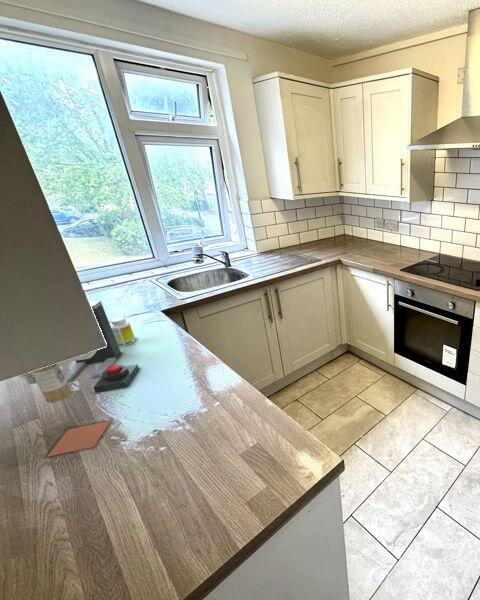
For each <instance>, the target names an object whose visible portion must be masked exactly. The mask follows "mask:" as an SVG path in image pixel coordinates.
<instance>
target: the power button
mask: <svg viewBox="0 0 480 600" xmlns="http://www.w3.org/2000/svg"><path fill="white" fill-rule="evenodd" d="M120 365H121V364H119V363H114V364H113V365H111V366H109V367H108V368H107V372H108V374H109V375H111V374H115V373H118V372H120V371H121V367H120Z"/></svg>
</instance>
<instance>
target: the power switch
mask: <svg viewBox="0 0 480 600" xmlns="http://www.w3.org/2000/svg"><path fill="white" fill-rule="evenodd" d="M119 365H120V367H121V371H120V372H118V373H115V374H111V375H109V374H108V372H107V370H105V371H104V372H103V373H102V376H101V377H99V380H98V381H96V383H95V384H94V386H93V390H94V392H95V393H101V392H107V391H113V390H118V389H124V388H128V387H129V385H130V384H131V383H132V381H133V379H134V378H135V376H136V374H137V373H138V371H139V370H140V367H139V364H138V363H135V364H130V365H129V364H128V365H124V364H119Z"/></svg>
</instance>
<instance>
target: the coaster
mask: <svg viewBox="0 0 480 600" xmlns="http://www.w3.org/2000/svg"><path fill="white" fill-rule="evenodd" d="M110 423H111V420H109V421H104V422H97V423H92V424H88V425H83V426H82V425H81V426H77V427H72V428H68V429H67V430H66V432H65V433H64V434H63V435H62V436H61V438H60V439H58V441H57V443H56V444H55V446H54V447H53V448H52V449H51V451H50V452H49V453H48V455H47V456H46V457H47V458H49V457H53V456H59V455H63V454H67V453H72V452H78V451H82V450H86V449H87V450H88V449H92V448H95V446H96V445H97V443H98V442H99V440H100V438H101V437H102V436H103V434H104V432H105V431H106V429H107V427H108V426H109V425H110Z"/></svg>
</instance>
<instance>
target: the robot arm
mask: <svg viewBox="0 0 480 600" xmlns="http://www.w3.org/2000/svg"><path fill="white" fill-rule="evenodd" d="M96 352H97V350H95V351H92V352H89V353H86V354H84V355H81V356H78V357H75V358H72V359H69V360H65V361H63V362H60V363H58V365H59V366H60V368H61V367H62V368H61V370H60V372H58V373H57V375H58V376H59V379H66V378H69V377H70V376H71V371H70V369H71V367H72V363H73V362H76V361H77V360H84V359H89V358H91V357H92V356H93V355H94V354H95V353H96ZM18 377H19V378H21V379H23V380H24V381H25V383H26V384H27V385H34V384H37V383H36V381H35V379H34V377H33V375H32V373H31V371H30V373H26V374H23V375H20V376H18Z"/></svg>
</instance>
